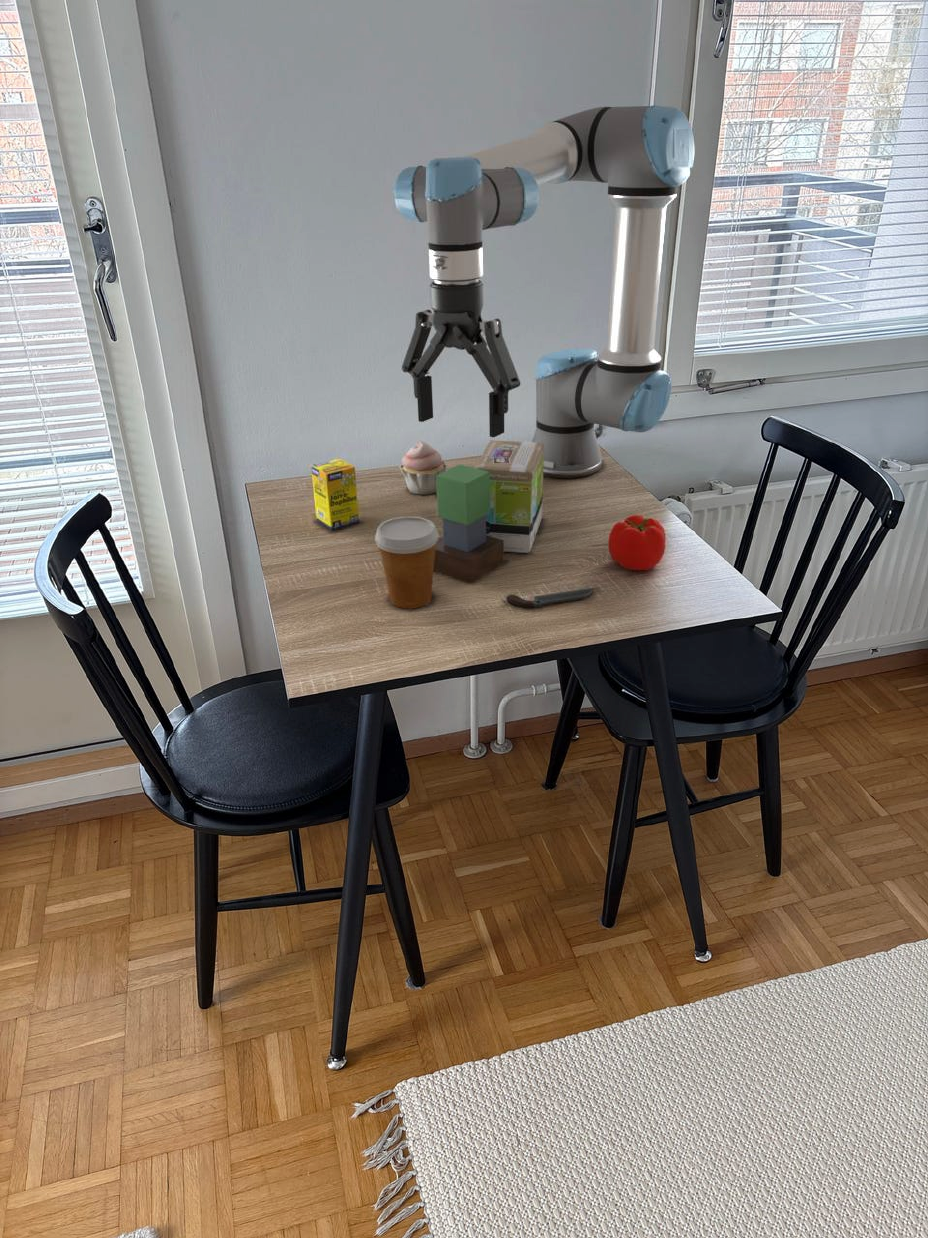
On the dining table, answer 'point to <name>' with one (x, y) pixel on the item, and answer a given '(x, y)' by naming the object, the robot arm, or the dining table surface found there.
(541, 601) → the knife
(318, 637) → the dining table surface
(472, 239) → the robot arm
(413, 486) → the cupcake
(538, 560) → the dining table surface
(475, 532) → the slate block
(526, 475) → the tea box
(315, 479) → the supplement box
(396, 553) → the disposable coffee cup
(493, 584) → the dining table surface
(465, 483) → the green block
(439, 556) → the walnut plinth
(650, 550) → the tomato
